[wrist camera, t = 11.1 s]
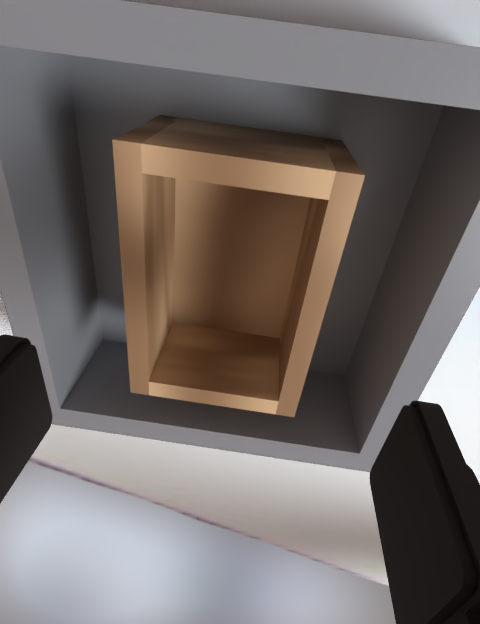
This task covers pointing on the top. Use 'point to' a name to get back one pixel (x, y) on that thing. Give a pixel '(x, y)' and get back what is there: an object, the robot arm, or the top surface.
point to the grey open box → (256, 114)
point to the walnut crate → (228, 257)
